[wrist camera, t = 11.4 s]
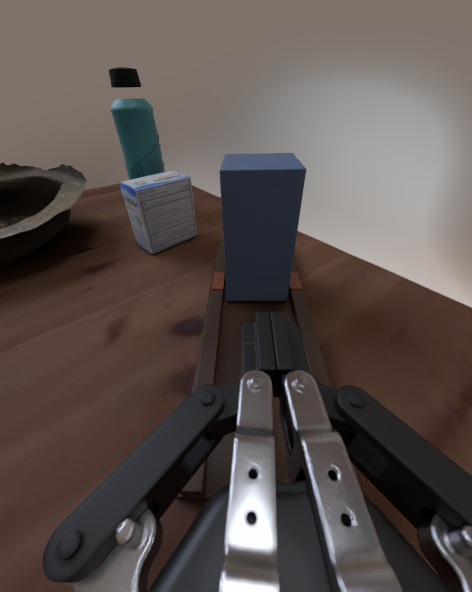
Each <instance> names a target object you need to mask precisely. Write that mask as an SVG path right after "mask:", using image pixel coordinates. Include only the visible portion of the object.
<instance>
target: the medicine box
mask: <svg viewBox="0 0 472 592" xmlns="http://www.w3.org/2000/svg"><path fill="white" fill-rule="evenodd" d="M120 188H121V191H122V195H123V198H124V202H125V205H126V208H127V211H128V215H129V218H130V221H131V224H132V228H133V231H134V234H135V238H136V241H137V244H139V246H141V247H142V248H144V249H145V250H146V251H148V252H149V253H151V254H155V253H157V252H159V251H162V250H164V249H166V248H169V247H171V246H174V245H176V244H178V243H181V242H183V241H186V240H188V239H190V238H193V237H195V236H197V227H196V220H195V211H194V203H193V194H192V186H191V178H190V177H188V176H186V175H184V174H180V173H178V172H174V171H169V172H164V173H159V174H154V175H150V176H145V177H141V178H137V179H132V180H128V181H124V182H121V183H120Z"/></svg>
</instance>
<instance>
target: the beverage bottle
mask: <svg viewBox="0 0 472 592" xmlns="http://www.w3.org/2000/svg"><path fill="white" fill-rule="evenodd" d="M109 74H110V79H111V85H112V87H141V83H140V80H139V77H138V73H137V70H136V69H132V68H125V67H124V68H122V67H120V68H113V69H110V70H109ZM111 112H112V115H113V118H114V122H115V126H116V129H117V133H118V137H119V140H120V144H121V147H122V151H123V154H124V158H125V163H126V167H127V170H128V174H129V177H130V180H132V179H137V178H141V177H145V176H150V175H154V174H159V173H164V172H165V171H164V166H163V165H164V163H163V161H162V156H161V150H160V145H159V140H158V137H159V136H158V135H157V130H156V125H155V120H154V115H153V108H152V106H151V105H150V104H149V103H148V102H147V101H146V100H145V99H115V101H114V102H113V104H112V106H111Z"/></svg>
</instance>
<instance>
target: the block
mask: <svg viewBox="0 0 472 592" xmlns="http://www.w3.org/2000/svg"><path fill="white" fill-rule="evenodd" d="M305 173H306V168H305V167H304V166H303V165H302V164H301V162H300V161H299V160H298V159H297V158H296V157H295V155H294V154H293V153H272V154H225V156H224V159H223V162H222V165H221V169H220V185H221V203H222V221H223V239H224V256H225V274H226V292H227V301H287V297H288V290H289V283H290V277H291V270H292V263H293V256H294V249H295V242H296V235H297V229H298V221H299V215H300V208H301V201H302V194H303V187H304V180H305Z"/></svg>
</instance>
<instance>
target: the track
mask: <svg viewBox="0 0 472 592" xmlns="http://www.w3.org/2000/svg"><path fill="white" fill-rule="evenodd" d="M255 312H284V317H285V321H294V323H295V324H296V325H297V326H298V328H299V330H300V334H301V338H302V342H303V346H304V350H305V354H306V359H307V363H308V367H309V370H310V373H311V375H312V376H313V377H314V378H315V379H316V380H317V381H318V382H320V383H321V384H323V385H326V386H329V387H332V386H331V382H330V379H329V376H328V373H327V369H326V366H325V363H324V359H323V356H322V353H321V349H320V346H319V343H318V339H317V336H316V333H315V330H314V326H313V323H312V320H311V316H310V313H309V310H308V306H307V303H306V300H305V297H304V293H303V290H302V285H301V282H300V279H299V276H298V272H297V270H296V267H295V264H294V260H293V263H292V270H291V277H290V283H289V290H288V297H287V301H227V292H226V274H225V256H224V239H220V242H219V245H218V246H217V252H216V257H215V263H214V269H213V275H212V281H211V286H210V292H209V298H208V304H207V309H206V315H205V321H204V327H203V332H202V338H201V344H200V350H199V356H198V361H197V367H196V373H195V379H194V384H193V390H192V393H193V392H194V391H195V390H196V389H197V388H198V387H200V386H201V385H204V384H214V385H216V386H218V387H219V388H221V387H224V386H227V385H230V384H232V383H234V382H235V381H236V380H237V379H238V378H239V377H240V374H241V371H242V327H243V325H244V323H245V322H246V321H255ZM279 407H280V404H279V397H273V394H272V413H273V433H274V441H275V480H277V481H280V482H283V483H286V484H290V482H289V476H288V467H287V454H286V449H285V443H284V438H283V433H282V428H281V423H280V417H279ZM234 434H235V432H233V433H230V434H227V435H225V436H224V437H223V439H222V440H221V441H220V442H219V444H218V445H217V446H216V448H215V449H214V450H213V451H212V453H211V454H210V455H209V456H208V458H207V459H206V460H205V462H204V463H203V464H202V465H201V467H200V468H199V469H198V470H197V472H196V473H195V474H194V476H193V477H192V478H191V479H190V481H189V482H188V483H187V484H186V486H185V487H184V488H183V490H182V491H181V492H180V493H179V495H178V496H177V497H176V498H195V499H210V498H211V496H212V495H213V494H214V493H215V492H217V491H218V490H219V489H220V488H222V487H223V486H225V485H227V484H229V483H230V476H231V466H232V455H233V444H234ZM350 462H351V461H350ZM351 465H352V467H353V470H354V473H355V476H356V478H357V481H358V484H359V487H360V489H361V492H362V494H363V495H364V491H363V488H362V485H361V481H360V478H359V475H358V472H357V468H356V466H355V465H354V464H353V463H352V462H351ZM364 496H365V495H364Z"/></svg>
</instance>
